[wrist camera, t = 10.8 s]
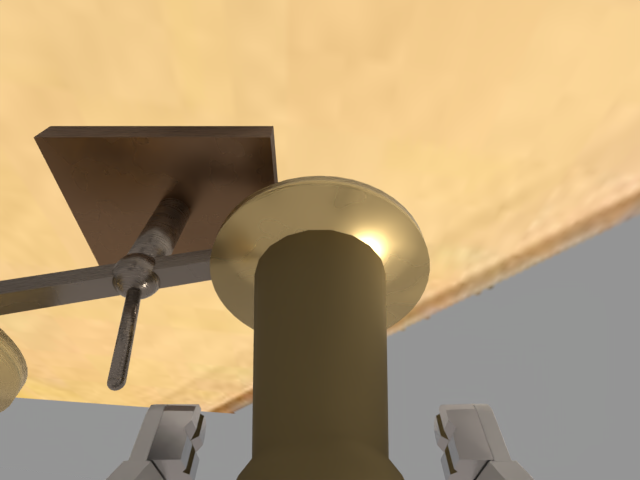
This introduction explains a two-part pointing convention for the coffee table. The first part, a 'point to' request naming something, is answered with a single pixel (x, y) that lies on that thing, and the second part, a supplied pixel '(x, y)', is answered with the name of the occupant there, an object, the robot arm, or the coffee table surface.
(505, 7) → the coffee table surface
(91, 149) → the balance
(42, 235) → the coffee table surface
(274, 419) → the olive brown pawn
